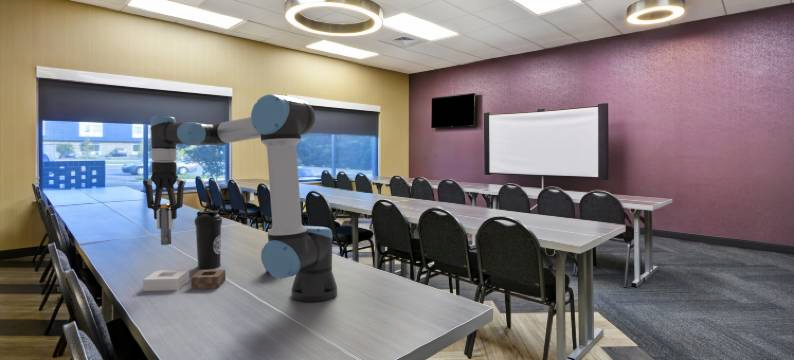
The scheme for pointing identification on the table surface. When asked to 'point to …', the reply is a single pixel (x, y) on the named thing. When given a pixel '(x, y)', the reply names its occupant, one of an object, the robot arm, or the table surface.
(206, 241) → the water bottle
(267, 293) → the table surface
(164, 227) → the pin
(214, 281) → the mount block
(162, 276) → the dock block
